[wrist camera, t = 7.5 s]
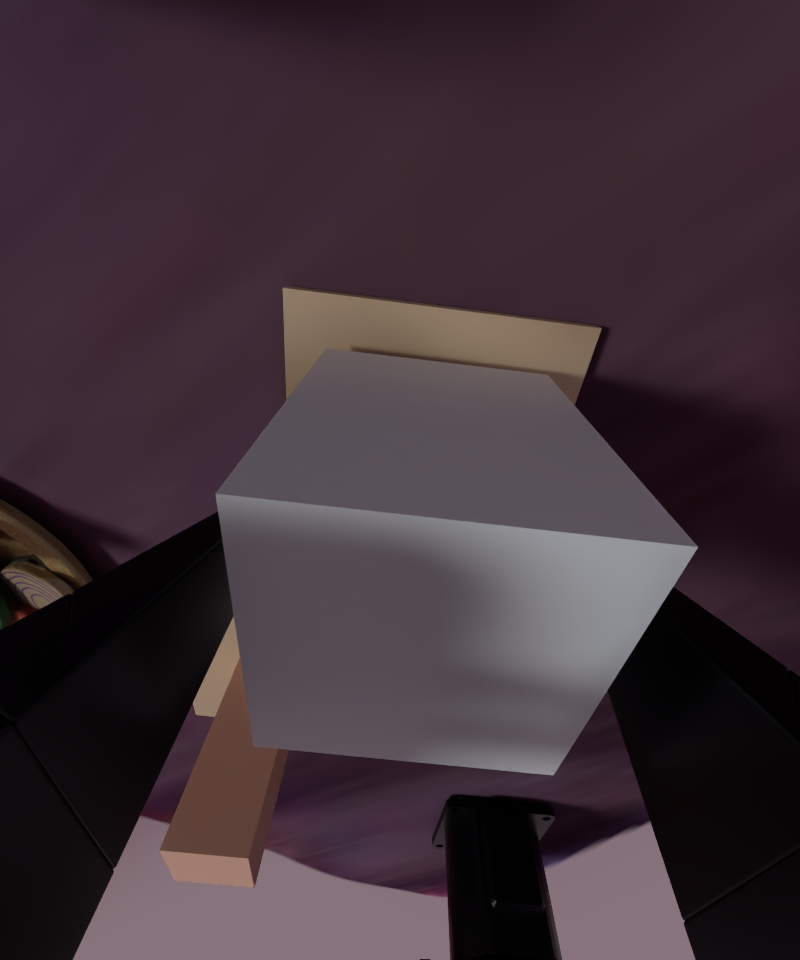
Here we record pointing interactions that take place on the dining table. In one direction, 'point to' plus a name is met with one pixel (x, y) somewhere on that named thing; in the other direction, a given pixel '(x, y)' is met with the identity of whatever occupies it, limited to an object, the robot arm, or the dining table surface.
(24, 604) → the toy sandwich meal
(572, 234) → the dining table surface
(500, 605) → the matte gray box
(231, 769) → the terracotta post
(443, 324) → the maple post
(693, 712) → the robot arm
